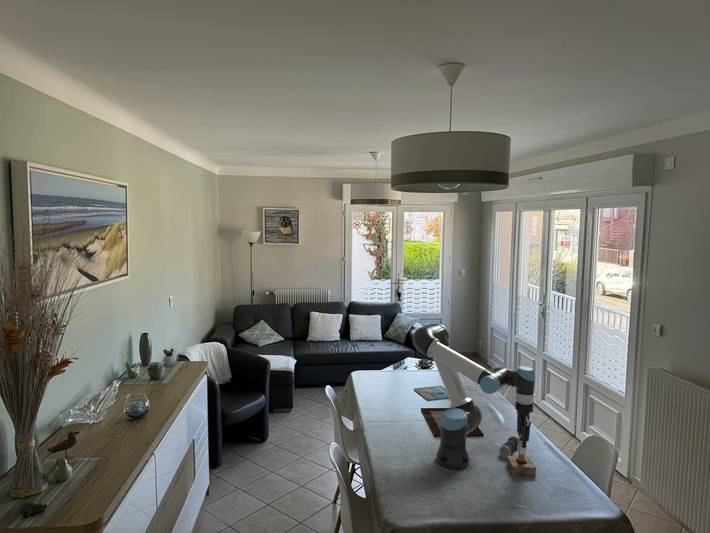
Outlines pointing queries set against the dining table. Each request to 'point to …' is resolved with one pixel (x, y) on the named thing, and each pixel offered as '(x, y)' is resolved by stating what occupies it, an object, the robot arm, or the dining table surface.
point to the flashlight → (508, 446)
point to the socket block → (521, 466)
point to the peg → (520, 456)
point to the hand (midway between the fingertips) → (521, 452)
